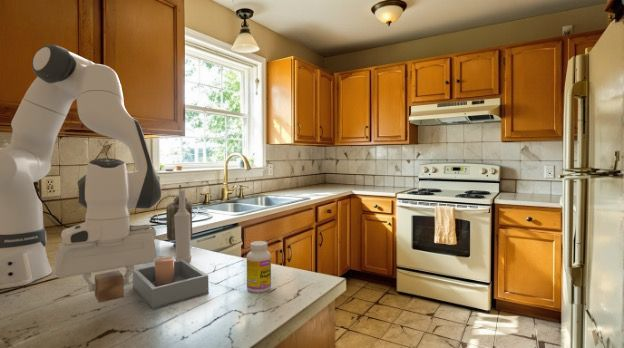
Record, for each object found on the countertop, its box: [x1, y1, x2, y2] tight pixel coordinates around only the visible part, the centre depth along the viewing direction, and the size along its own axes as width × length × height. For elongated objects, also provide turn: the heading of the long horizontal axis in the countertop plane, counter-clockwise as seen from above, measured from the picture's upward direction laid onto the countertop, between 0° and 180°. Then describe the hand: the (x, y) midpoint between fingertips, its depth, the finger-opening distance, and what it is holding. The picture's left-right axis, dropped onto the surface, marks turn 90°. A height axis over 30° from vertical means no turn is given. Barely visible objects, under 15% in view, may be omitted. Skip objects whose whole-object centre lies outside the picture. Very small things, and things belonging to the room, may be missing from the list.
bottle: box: [174, 189, 192, 264], centre depth 116 cm, size 5×5×25 cm
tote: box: [132, 260, 209, 311], centre depth 92 cm, size 14×18×5 cm
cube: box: [94, 270, 125, 304], centre depth 79 cm, size 5×5×5 cm
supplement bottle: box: [246, 240, 272, 294], centre depth 93 cm, size 7×7×13 cm
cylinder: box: [154, 256, 175, 287], centre depth 95 cm, size 5×5×7 cm
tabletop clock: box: [165, 184, 193, 248], centre depth 135 cm, size 14×9×25 cm, turn 20°
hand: (109, 287), depth 79 cm, fingers closed on cube, 5 cm apart
